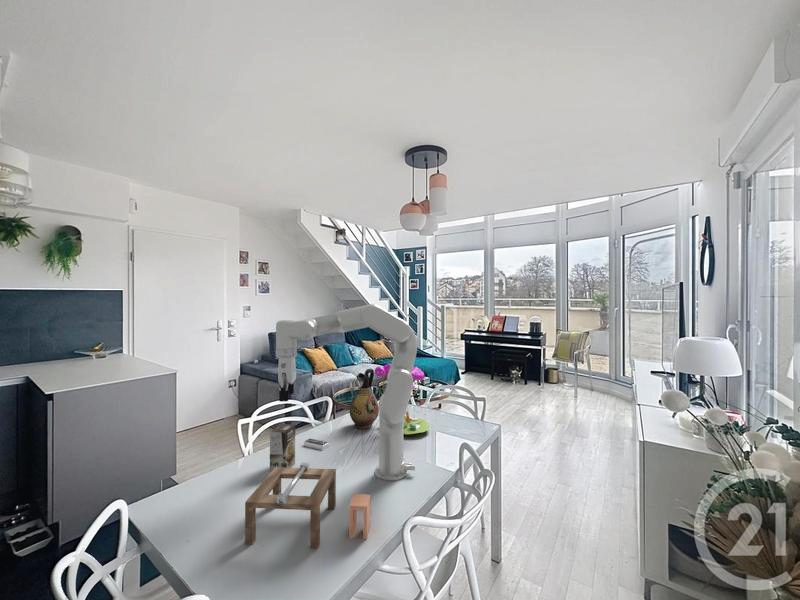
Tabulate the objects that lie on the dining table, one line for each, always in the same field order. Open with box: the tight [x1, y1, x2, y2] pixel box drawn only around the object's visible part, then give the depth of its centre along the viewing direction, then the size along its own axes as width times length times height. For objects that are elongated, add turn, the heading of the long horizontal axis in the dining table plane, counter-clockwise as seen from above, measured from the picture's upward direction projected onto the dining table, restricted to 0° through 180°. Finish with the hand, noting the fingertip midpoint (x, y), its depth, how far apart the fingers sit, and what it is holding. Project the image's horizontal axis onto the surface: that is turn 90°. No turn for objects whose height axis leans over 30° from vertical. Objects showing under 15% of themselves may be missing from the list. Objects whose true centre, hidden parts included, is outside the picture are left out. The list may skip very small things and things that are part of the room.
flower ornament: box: [374, 363, 431, 435], centre depth 184 cm, size 30×28×35 cm
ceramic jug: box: [349, 368, 379, 430], centre depth 189 cm, size 17×15×30 cm
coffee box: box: [269, 423, 296, 473], centre depth 140 cm, size 9×6×16 cm
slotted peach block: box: [348, 493, 371, 540], centre depth 102 cm, size 5×6×9 cm
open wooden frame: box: [244, 467, 337, 550], centre depth 105 cm, size 20×20×12 cm
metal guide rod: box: [277, 462, 310, 504], centre depth 105 cm, size 2×20×2 cm, turn 176°
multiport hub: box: [303, 438, 329, 451], centre depth 162 cm, size 4×11×2 cm, turn 65°
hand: (286, 397), depth 135 cm, fingers open, 9 cm apart
